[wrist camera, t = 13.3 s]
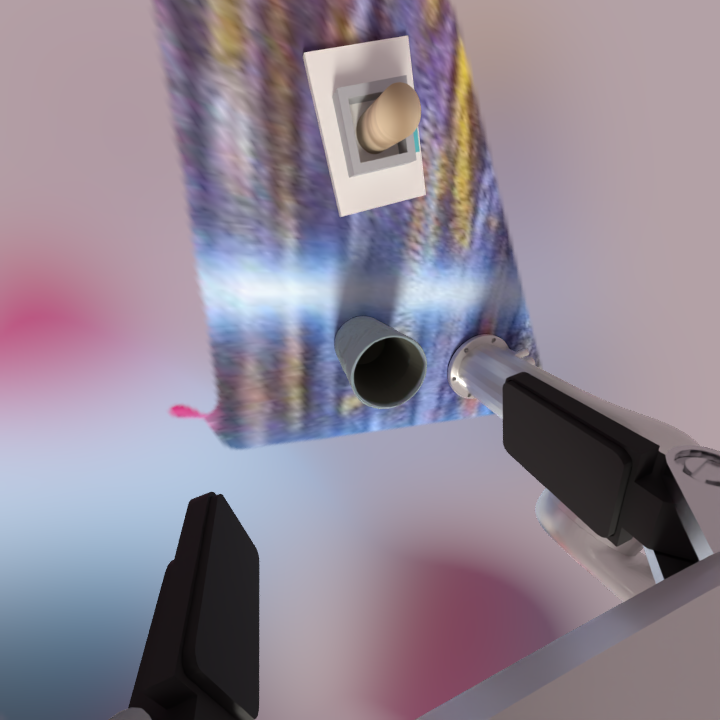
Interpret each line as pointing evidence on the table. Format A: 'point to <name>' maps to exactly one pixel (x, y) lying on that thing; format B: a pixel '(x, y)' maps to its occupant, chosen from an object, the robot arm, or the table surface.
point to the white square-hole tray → (340, 117)
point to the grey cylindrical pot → (380, 362)
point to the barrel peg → (389, 118)
